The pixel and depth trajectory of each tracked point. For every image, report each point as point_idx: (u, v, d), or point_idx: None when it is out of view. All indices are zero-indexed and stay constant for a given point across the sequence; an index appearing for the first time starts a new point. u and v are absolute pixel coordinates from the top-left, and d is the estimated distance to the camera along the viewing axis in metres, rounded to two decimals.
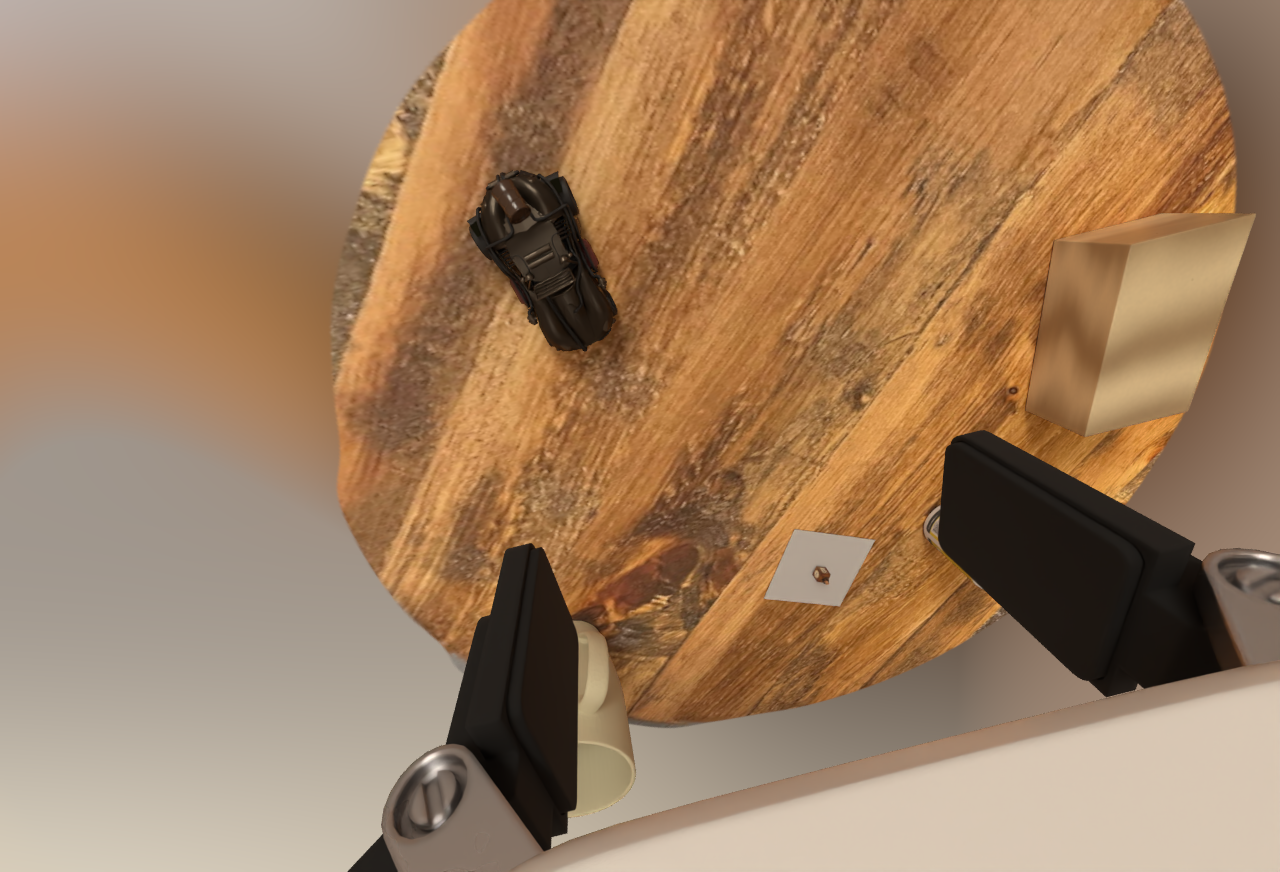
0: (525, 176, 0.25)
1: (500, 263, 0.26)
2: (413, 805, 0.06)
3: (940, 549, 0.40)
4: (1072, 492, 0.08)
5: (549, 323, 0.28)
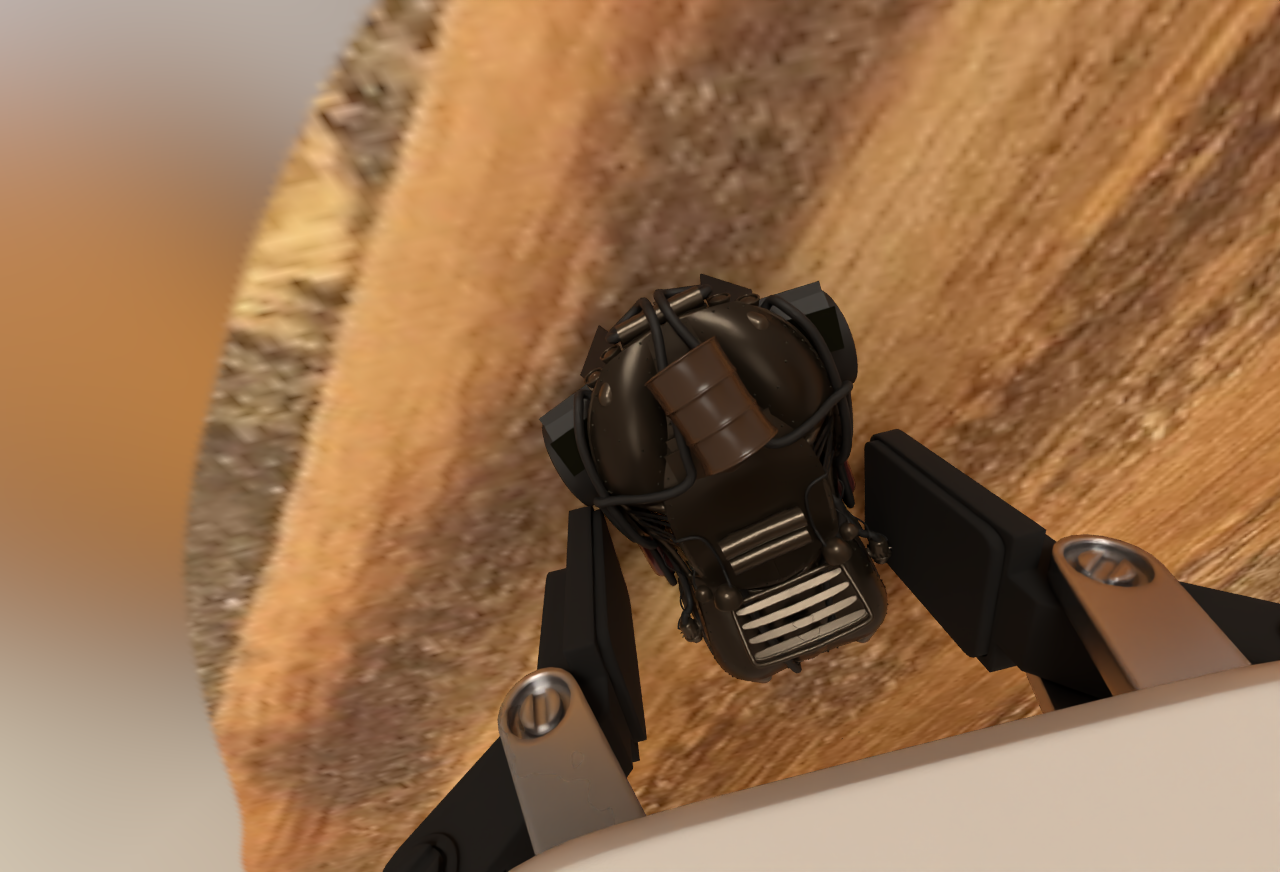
0: (740, 308, 0.08)
1: (632, 534, 0.09)
2: (523, 716, 0.07)
3: None
4: (957, 485, 0.08)
5: (739, 649, 0.11)
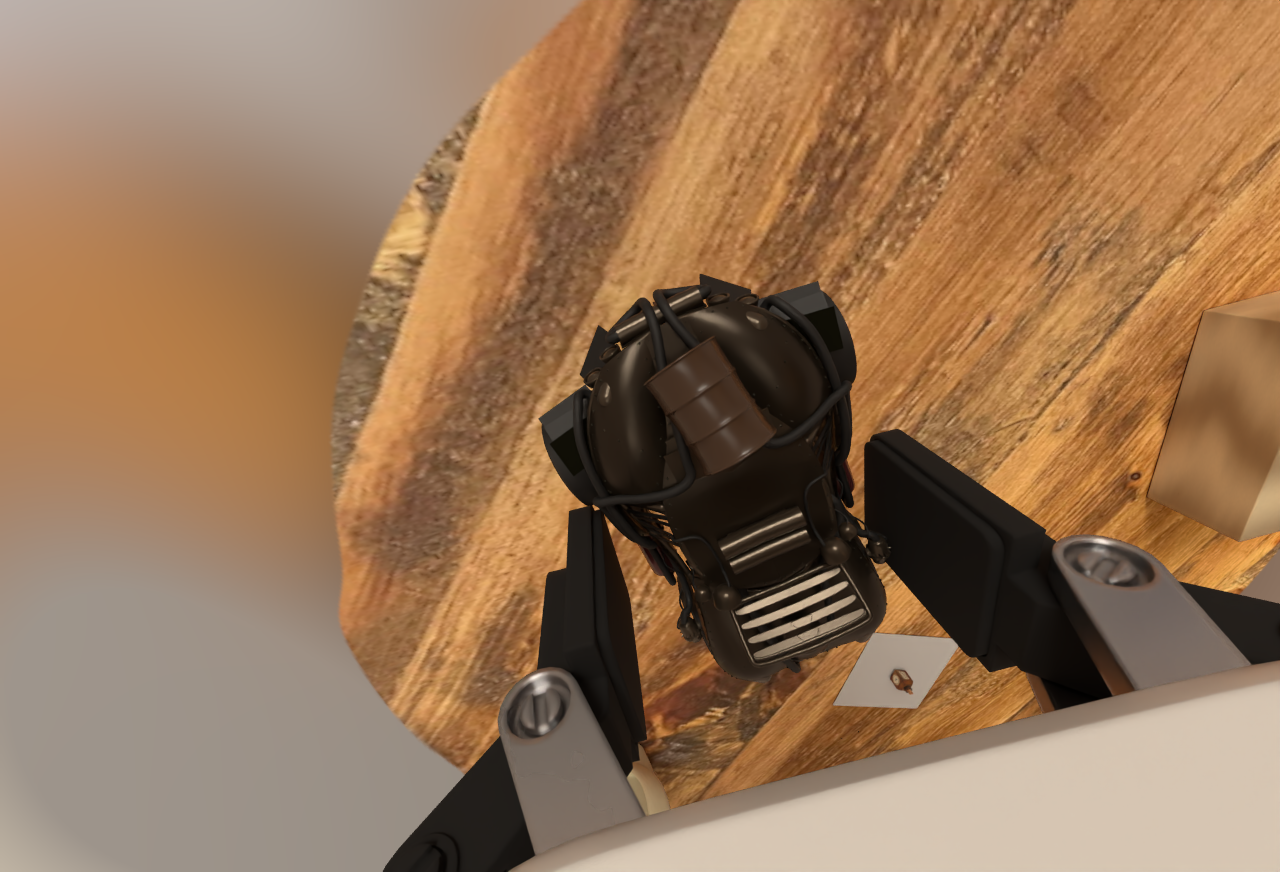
0: (739, 308, 0.08)
1: (631, 534, 0.09)
2: (523, 715, 0.07)
3: None
4: (957, 485, 0.08)
5: (738, 649, 0.11)
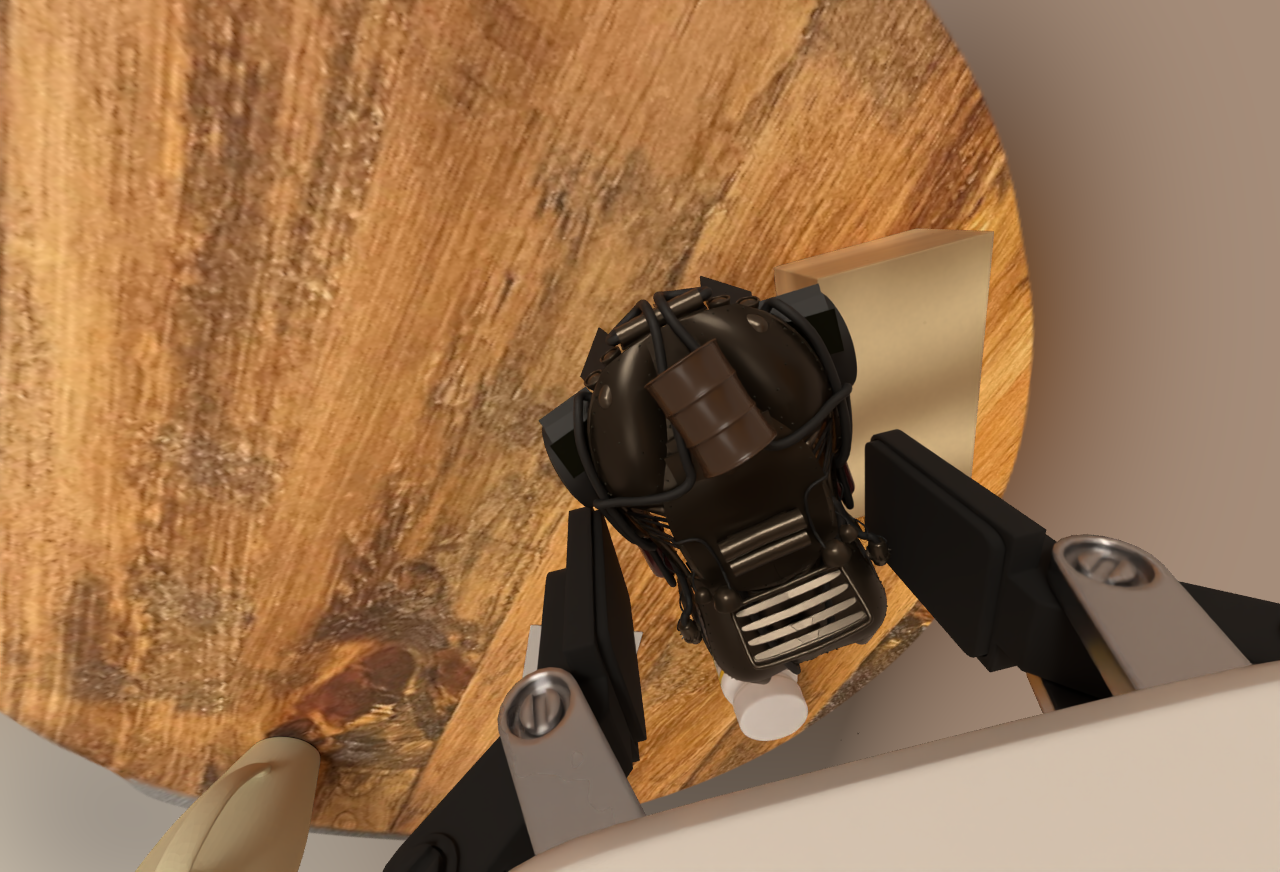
0: (740, 311, 0.08)
1: (632, 536, 0.09)
2: (523, 715, 0.07)
3: None
4: (957, 485, 0.08)
5: (738, 651, 0.11)
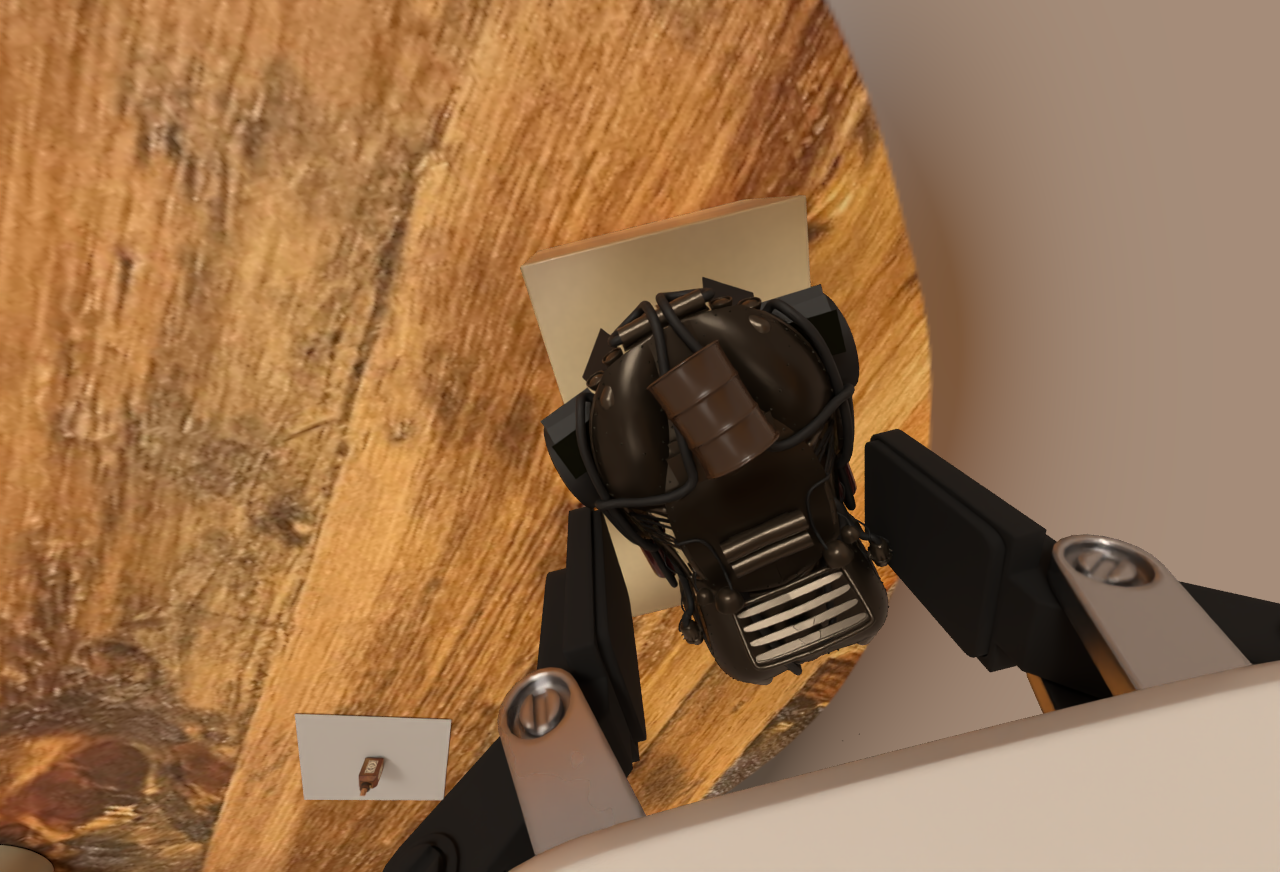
0: (742, 312, 0.08)
1: (633, 537, 0.09)
2: (523, 716, 0.07)
3: None
4: (957, 485, 0.08)
5: (740, 652, 0.11)
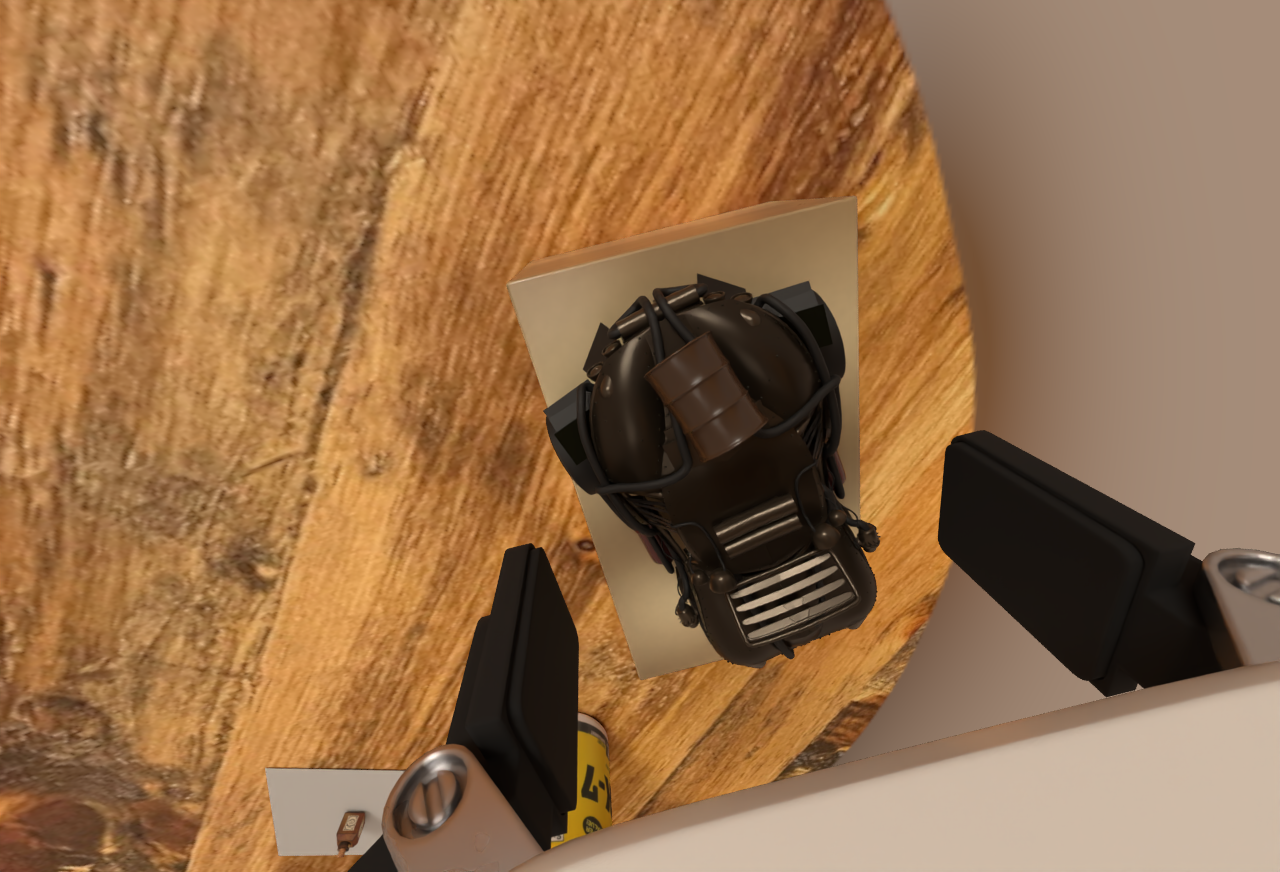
0: (734, 306, 0.08)
1: (631, 521, 0.10)
2: (413, 805, 0.06)
3: None
4: (1072, 492, 0.08)
5: (734, 634, 0.11)
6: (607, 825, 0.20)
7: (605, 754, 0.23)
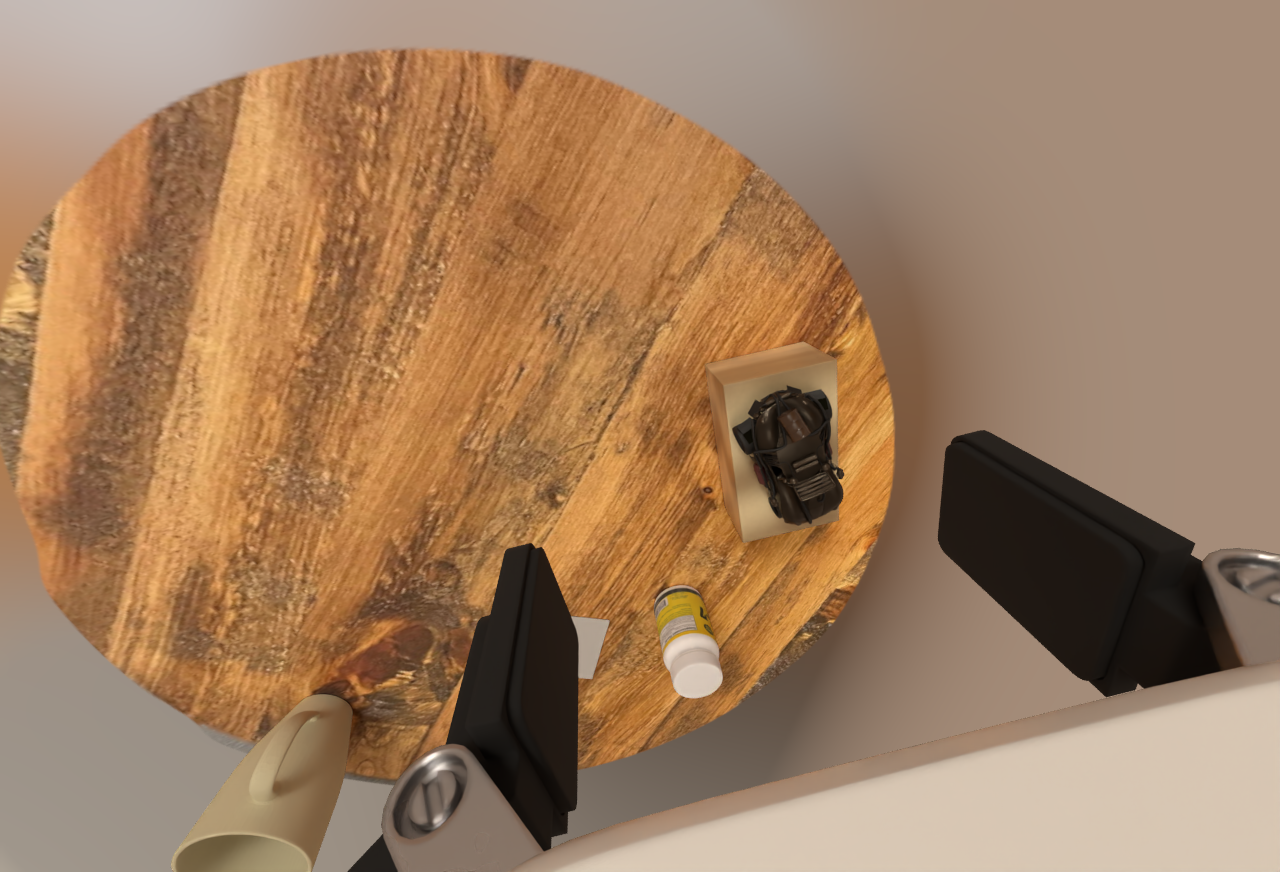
0: (800, 398, 0.28)
1: (763, 463, 0.30)
2: (413, 805, 0.06)
3: None
4: (1072, 492, 0.08)
5: (792, 507, 0.31)
6: None
7: None
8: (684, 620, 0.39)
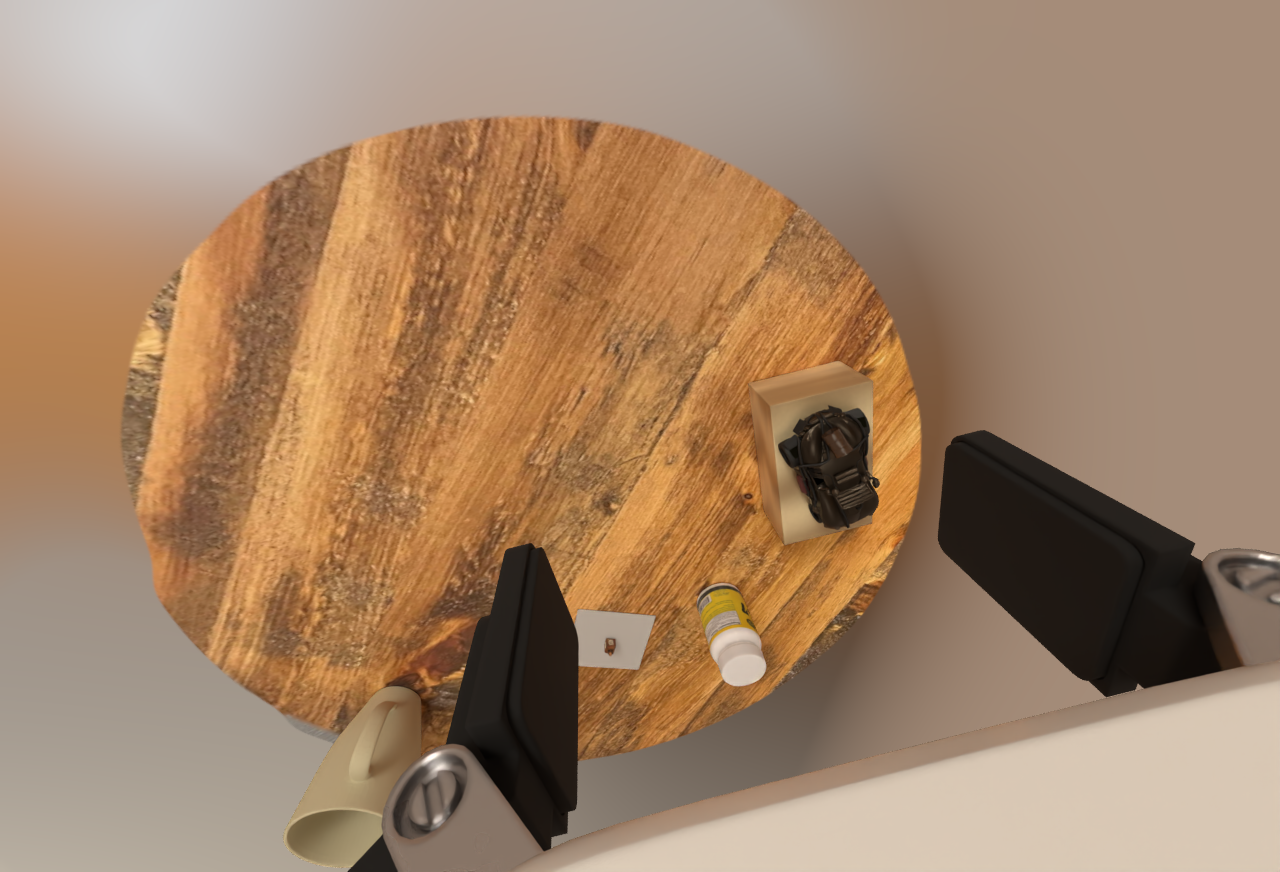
0: (842, 418, 0.32)
1: (807, 475, 0.33)
2: (413, 805, 0.06)
3: None
4: (1072, 492, 0.08)
5: (832, 514, 0.35)
6: (754, 625, 0.43)
7: (744, 602, 0.46)
8: (728, 615, 0.43)
